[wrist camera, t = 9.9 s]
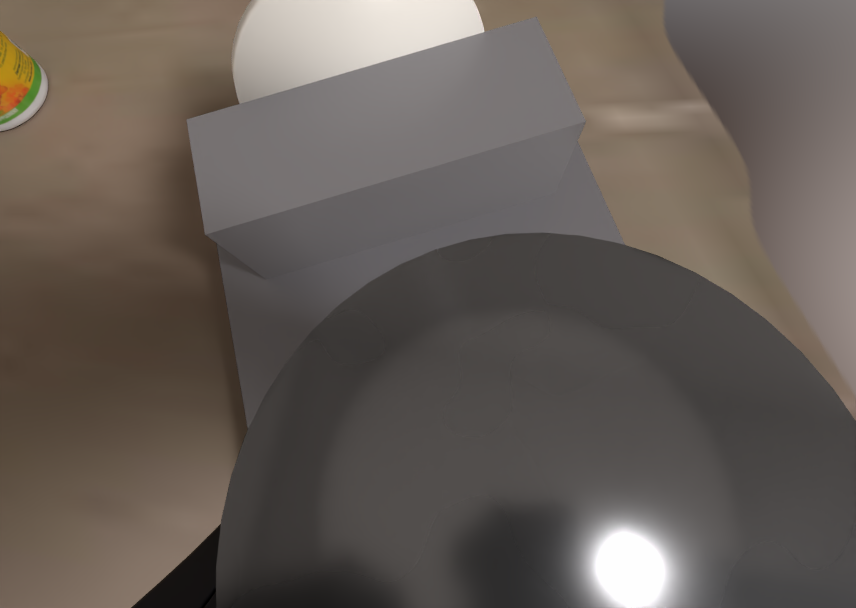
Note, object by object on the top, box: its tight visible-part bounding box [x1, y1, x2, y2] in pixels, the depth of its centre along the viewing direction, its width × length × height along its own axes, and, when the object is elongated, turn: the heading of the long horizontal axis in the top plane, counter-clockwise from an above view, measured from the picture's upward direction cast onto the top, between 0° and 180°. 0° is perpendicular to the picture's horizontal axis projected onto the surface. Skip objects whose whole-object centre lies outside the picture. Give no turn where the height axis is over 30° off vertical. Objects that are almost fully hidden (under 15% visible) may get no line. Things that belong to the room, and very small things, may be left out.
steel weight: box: [216, 233, 856, 608], centre depth 9 cm, size 5×5×13 cm
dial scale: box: [187, 0, 625, 429], centre depth 15 cm, size 24×18×11 cm
